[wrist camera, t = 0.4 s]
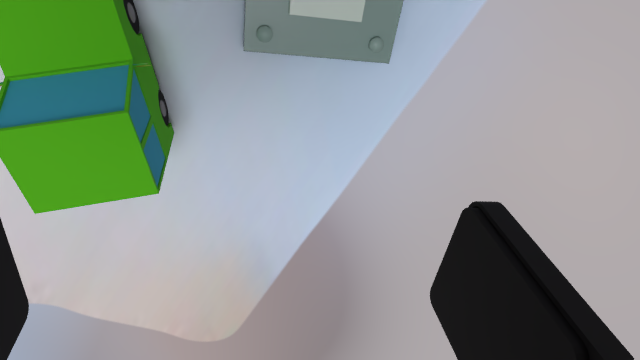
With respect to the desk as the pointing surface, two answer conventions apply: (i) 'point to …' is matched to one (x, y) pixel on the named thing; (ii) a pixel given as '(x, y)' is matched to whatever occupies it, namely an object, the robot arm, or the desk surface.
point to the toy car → (79, 103)
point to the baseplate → (323, 28)
